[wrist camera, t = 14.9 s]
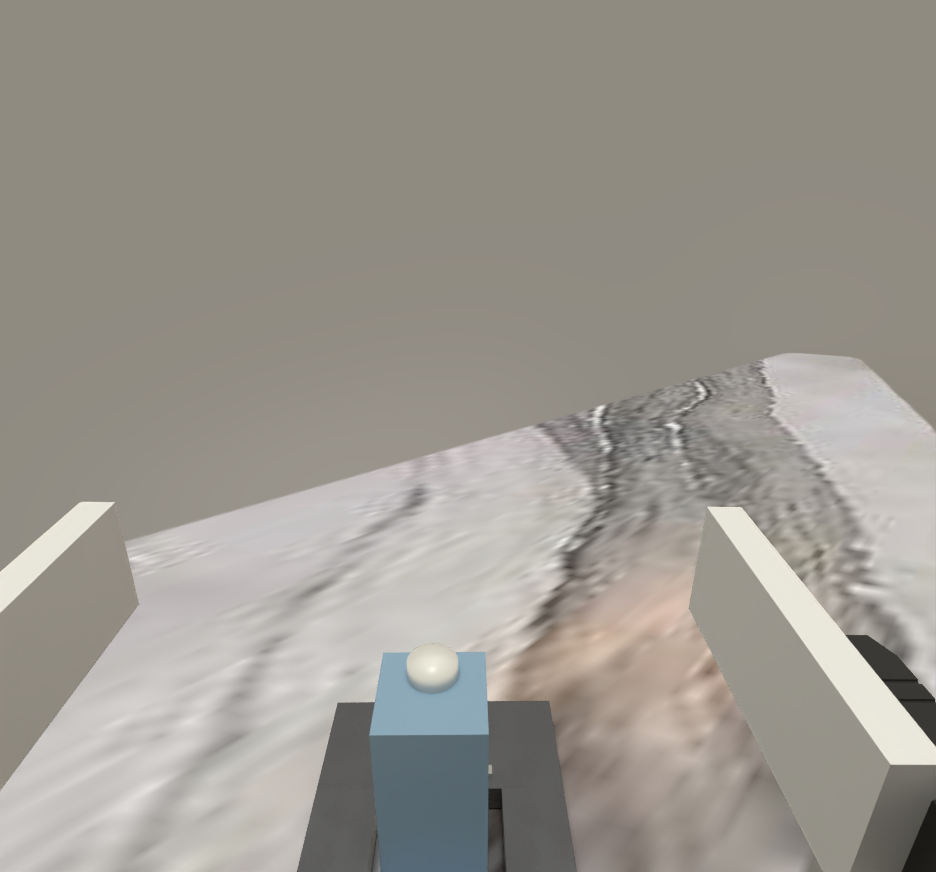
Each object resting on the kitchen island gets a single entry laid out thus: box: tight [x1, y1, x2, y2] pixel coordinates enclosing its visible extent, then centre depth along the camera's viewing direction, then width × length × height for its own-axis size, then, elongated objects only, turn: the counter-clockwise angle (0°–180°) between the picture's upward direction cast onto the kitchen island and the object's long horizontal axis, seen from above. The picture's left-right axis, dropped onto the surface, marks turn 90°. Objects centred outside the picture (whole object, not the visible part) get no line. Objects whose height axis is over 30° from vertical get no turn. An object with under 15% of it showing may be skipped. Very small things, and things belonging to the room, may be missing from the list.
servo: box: [369, 643, 489, 872], centre depth 31 cm, size 10×5×13 cm, turn 0°
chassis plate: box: [297, 701, 577, 872], centre depth 33 cm, size 20×14×2 cm
